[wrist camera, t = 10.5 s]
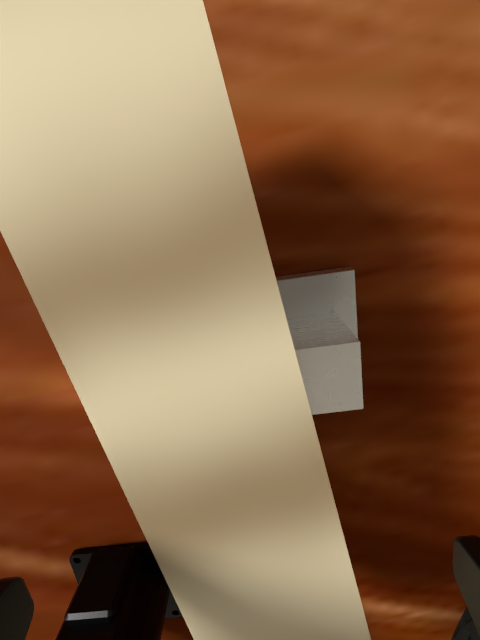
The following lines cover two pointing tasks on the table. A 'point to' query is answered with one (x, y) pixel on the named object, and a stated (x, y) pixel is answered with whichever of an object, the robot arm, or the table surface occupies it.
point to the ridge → (325, 336)
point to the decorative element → (466, 628)
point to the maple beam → (170, 309)
